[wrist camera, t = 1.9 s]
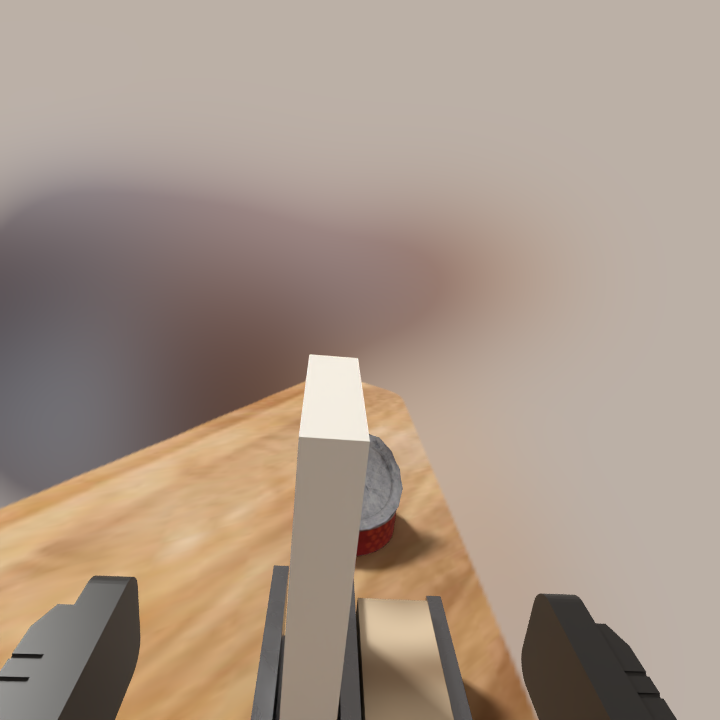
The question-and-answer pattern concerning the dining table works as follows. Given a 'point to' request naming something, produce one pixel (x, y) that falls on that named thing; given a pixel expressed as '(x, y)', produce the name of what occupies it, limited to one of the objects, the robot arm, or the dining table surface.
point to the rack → (349, 700)
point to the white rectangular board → (324, 537)
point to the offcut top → (399, 662)
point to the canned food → (379, 498)
